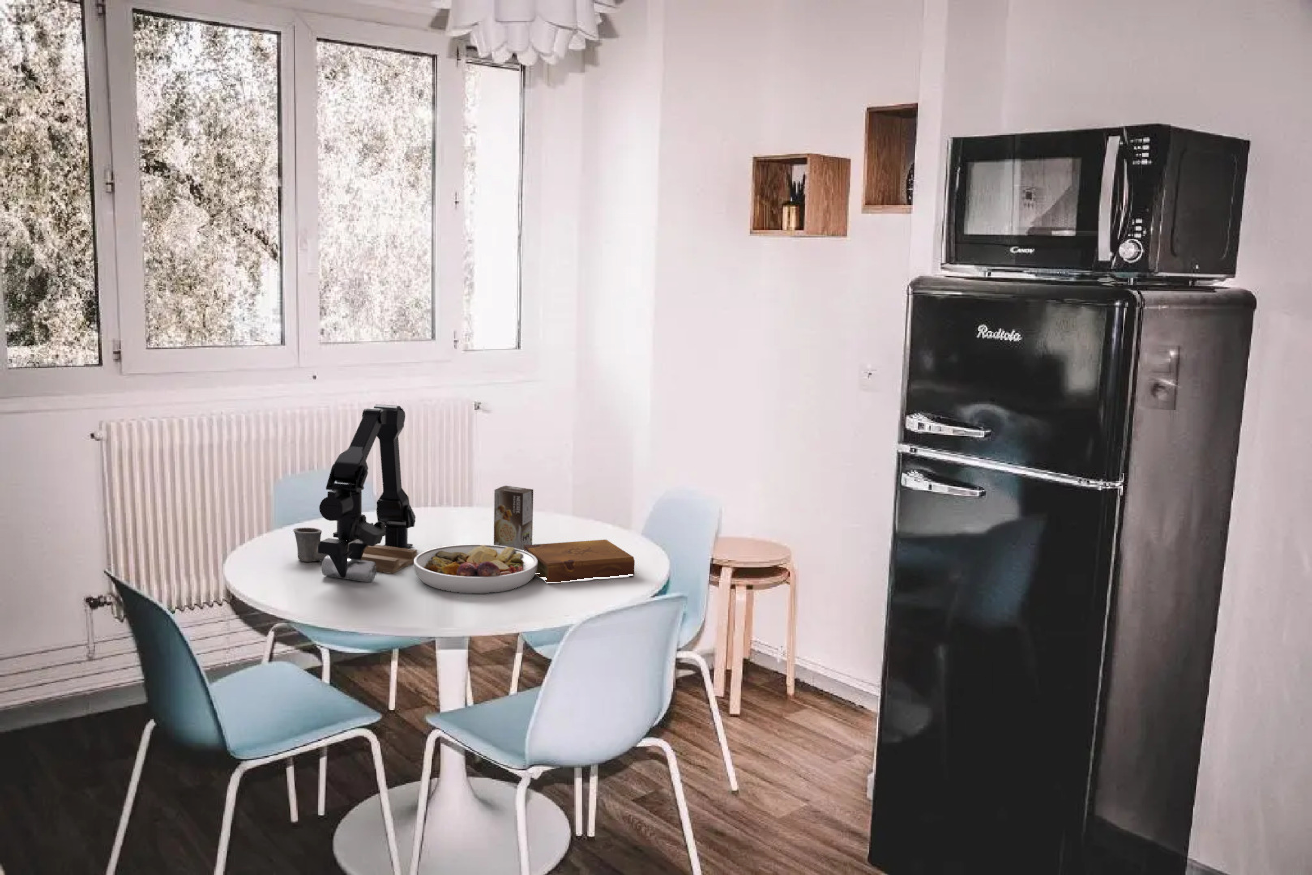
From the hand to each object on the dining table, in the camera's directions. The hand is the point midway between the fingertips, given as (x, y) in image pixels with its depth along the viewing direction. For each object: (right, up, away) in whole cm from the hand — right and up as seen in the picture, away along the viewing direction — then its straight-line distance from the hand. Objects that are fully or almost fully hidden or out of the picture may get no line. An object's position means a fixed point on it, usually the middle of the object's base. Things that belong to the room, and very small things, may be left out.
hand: (349, 574), depth 285 cm
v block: (+4, +1, +14) cm, 15 cm away
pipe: (-12, +1, +14) cm, 18 cm away
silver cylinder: (0, +1, 0) cm, 1 cm away
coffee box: (+35, +3, +36) cm, 51 cm away
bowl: (+30, -2, +6) cm, 30 cm away
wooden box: (+54, -2, +16) cm, 57 cm away
